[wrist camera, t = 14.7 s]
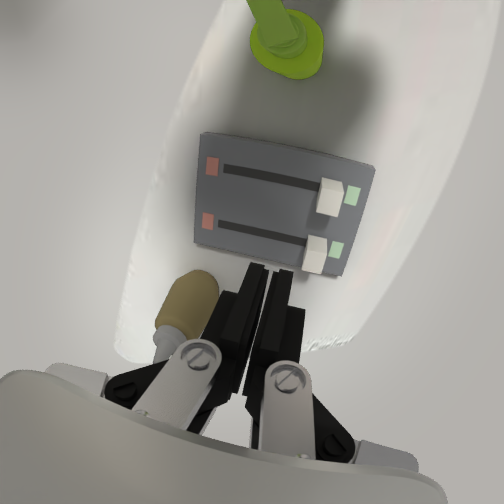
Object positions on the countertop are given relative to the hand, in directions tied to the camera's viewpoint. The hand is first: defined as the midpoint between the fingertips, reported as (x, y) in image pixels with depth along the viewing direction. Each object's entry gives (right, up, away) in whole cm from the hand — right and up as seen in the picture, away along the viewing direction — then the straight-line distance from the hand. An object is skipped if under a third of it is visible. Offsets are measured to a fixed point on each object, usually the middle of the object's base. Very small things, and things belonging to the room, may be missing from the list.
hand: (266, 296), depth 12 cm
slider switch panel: (+3, +8, +29) cm, 30 cm away
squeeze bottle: (-9, -3, +39) cm, 40 cm away
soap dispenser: (+5, +25, +18) cm, 32 cm away
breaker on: (+9, +9, +24) cm, 27 cm away
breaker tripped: (+8, +3, +28) cm, 29 cm away
